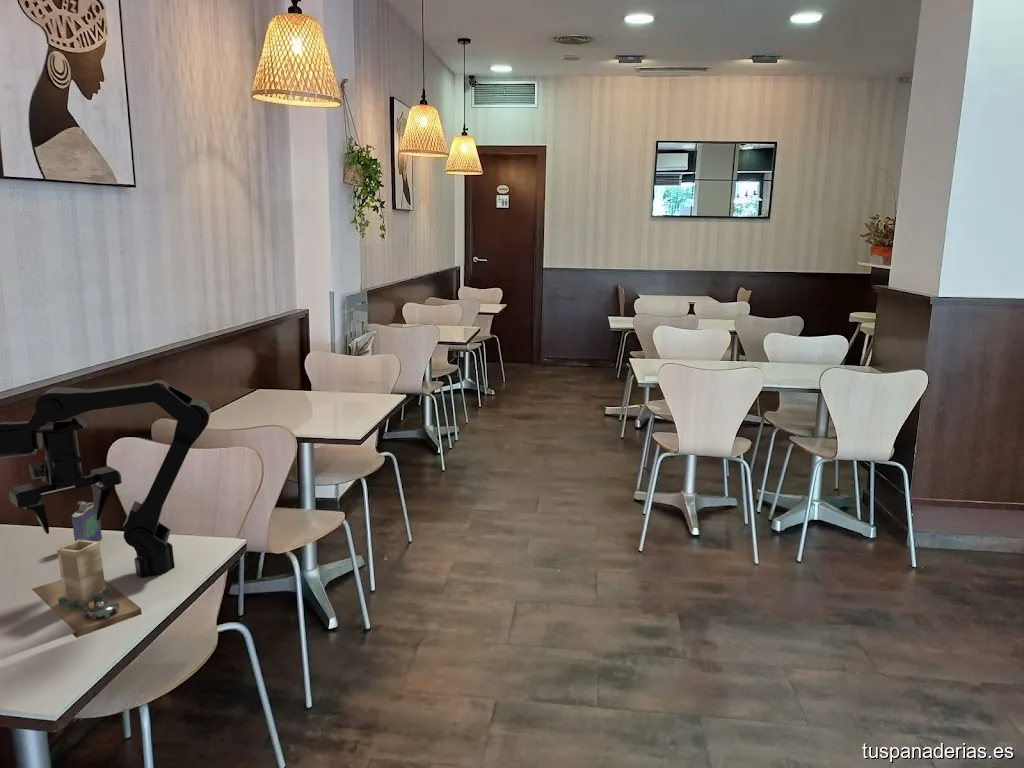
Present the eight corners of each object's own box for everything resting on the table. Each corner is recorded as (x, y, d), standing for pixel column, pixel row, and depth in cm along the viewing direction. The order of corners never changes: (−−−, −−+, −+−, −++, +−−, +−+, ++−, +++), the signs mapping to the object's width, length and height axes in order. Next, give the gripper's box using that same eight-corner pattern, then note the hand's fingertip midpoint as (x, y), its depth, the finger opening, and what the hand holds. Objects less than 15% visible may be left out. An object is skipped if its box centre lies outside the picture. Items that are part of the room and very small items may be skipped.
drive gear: (112, 602, 146) (110, 588, 145) (124, 612, 142) (122, 598, 141) (78, 613, 142) (76, 600, 141) (90, 624, 138) (88, 610, 137)
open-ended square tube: (85, 585, 153) (78, 534, 150) (122, 590, 150) (115, 538, 148) (47, 607, 144) (39, 553, 142) (86, 612, 142) (78, 557, 140)
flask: (84, 553, 171) (78, 508, 169) (71, 554, 171) (65, 509, 169) (105, 537, 180) (99, 494, 178) (92, 537, 180) (86, 495, 178)
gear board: (93, 575, 160) (92, 569, 160) (141, 614, 143) (140, 608, 143) (32, 594, 152) (32, 588, 152) (76, 637, 135) (75, 631, 135)
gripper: (97, 435, 162) (106, 504, 165) (-5, 454, 148) (7, 529, 151) (118, 444, 154) (127, 516, 157) (12, 466, 141) (24, 544, 144)
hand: (72, 526), depth 153 cm, fingers open, 9 cm apart
